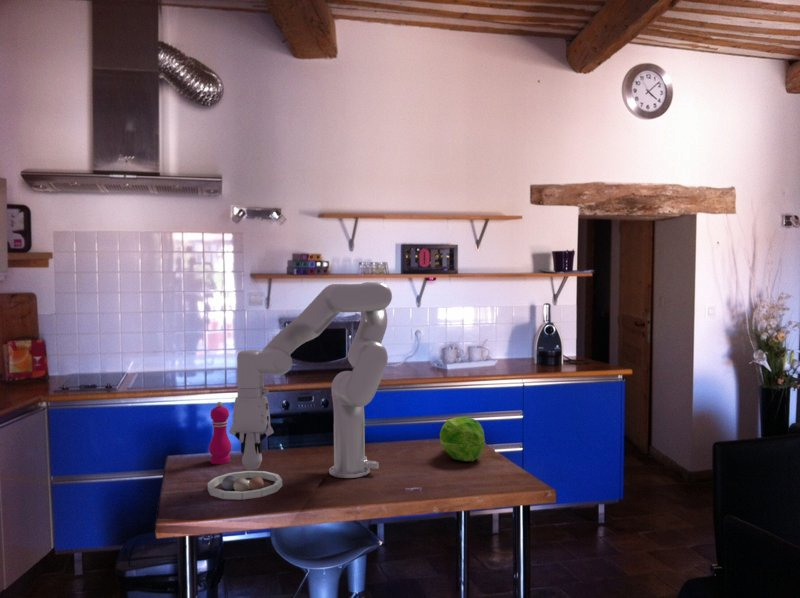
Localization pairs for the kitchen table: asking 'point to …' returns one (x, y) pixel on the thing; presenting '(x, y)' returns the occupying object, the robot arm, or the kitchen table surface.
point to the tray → (245, 493)
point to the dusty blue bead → (228, 482)
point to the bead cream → (240, 484)
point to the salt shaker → (251, 452)
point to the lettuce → (462, 438)
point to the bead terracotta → (256, 483)
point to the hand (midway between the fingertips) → (251, 455)
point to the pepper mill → (220, 436)
